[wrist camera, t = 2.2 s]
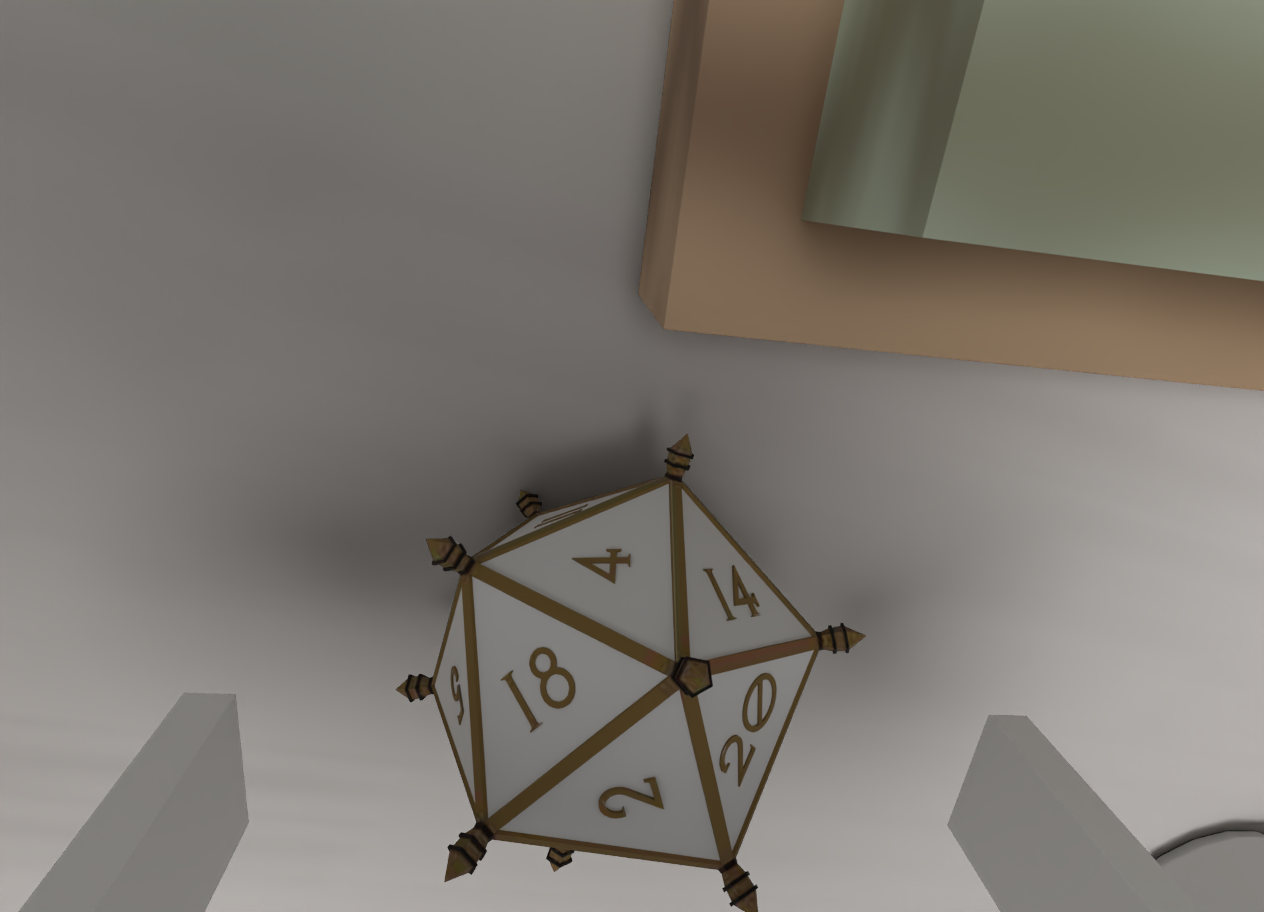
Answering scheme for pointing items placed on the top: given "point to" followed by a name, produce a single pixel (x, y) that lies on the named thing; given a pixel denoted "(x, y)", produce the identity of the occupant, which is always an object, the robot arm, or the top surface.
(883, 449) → the top surface
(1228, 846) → the supplement can
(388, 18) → the top surface
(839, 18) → the tower base
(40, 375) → the top surface
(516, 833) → the game die
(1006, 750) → the robot arm
